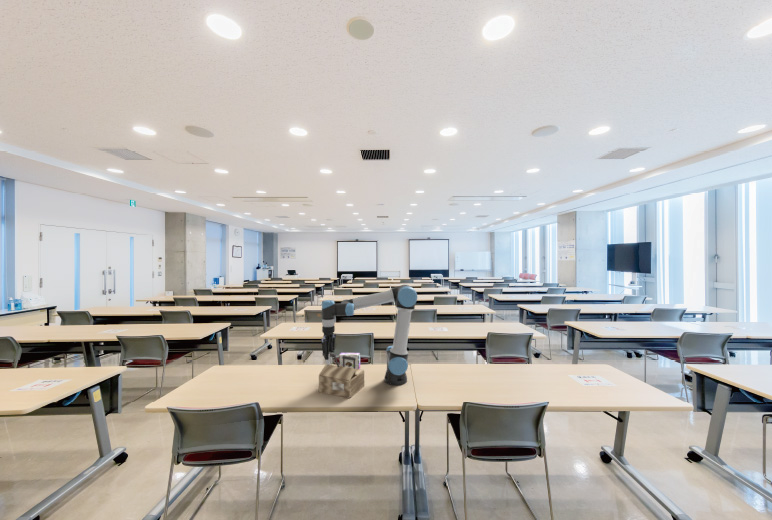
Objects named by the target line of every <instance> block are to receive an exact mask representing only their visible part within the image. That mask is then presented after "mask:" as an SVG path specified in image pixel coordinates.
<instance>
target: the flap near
mask: <svg viewBox="0 0 772 520" xmlns="http://www.w3.org/2000/svg"><path fill="white" fill-rule="evenodd" d="M329 354H330V353H329ZM322 357H323V358H324V360H325V362H326V359H325V354H323V353H322ZM330 357H332V358H333V359H334V361H335V363H336V364H330V365H327V364H326V363H325V365H324V366H323V368H322V369H321V371H320V372H319V374H318V377H319V376H324V377H330V378H335V379H341V380H346V381H350V379H351V378H352V376H353V374H354V372H355V370H356V369H353V368H347V367H340V366H339V360H338V359H337V354H335V353H332V354H330ZM335 365H337V366H335Z"/></svg>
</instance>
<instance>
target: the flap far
mask: <svg viewBox="0 0 772 520" xmlns="http://www.w3.org/2000/svg"><path fill="white" fill-rule="evenodd" d="M342 359H343V366H340V367H345V359H347V360H353V365H354V368H353V369H356V368H355V360H356V358H355V357H348V356H343V357H342ZM334 366H337V364H334ZM347 368H350V367H347ZM363 371H364V372H365V369H362V368H360V369H356V370H355V372H354V374H353V375H356V376H357V375H359V374H360V373H362V372H363Z"/></svg>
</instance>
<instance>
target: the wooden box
mask: <svg viewBox="0 0 772 520" xmlns="http://www.w3.org/2000/svg"><path fill="white" fill-rule="evenodd" d="M364 387H365V370H364V371H363V372H362V373H360V374H359V375H357V376H356V375H353V376H352V378H351V379H350V381H346V380H341V379H335V378H330V377H324V376H319V375H318V392H319V393H322V394H323V393H324V394H327V395H332V396H338V397H342V398H348V399H351V398H352V397H353V396H355V395H356V394H357V393H358V392H359V391H361V390H362V389H364Z"/></svg>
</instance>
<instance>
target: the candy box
mask: <svg viewBox="0 0 772 520" xmlns="http://www.w3.org/2000/svg"><path fill="white" fill-rule="evenodd" d="M343 356H348V357H355V358H356V360H355V368H356V369H361V353H360V352H340V353H339V354H338V364H339V366H343V359H342V357H343ZM345 367H350V368H354V365H353V360H347V359H345Z"/></svg>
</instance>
